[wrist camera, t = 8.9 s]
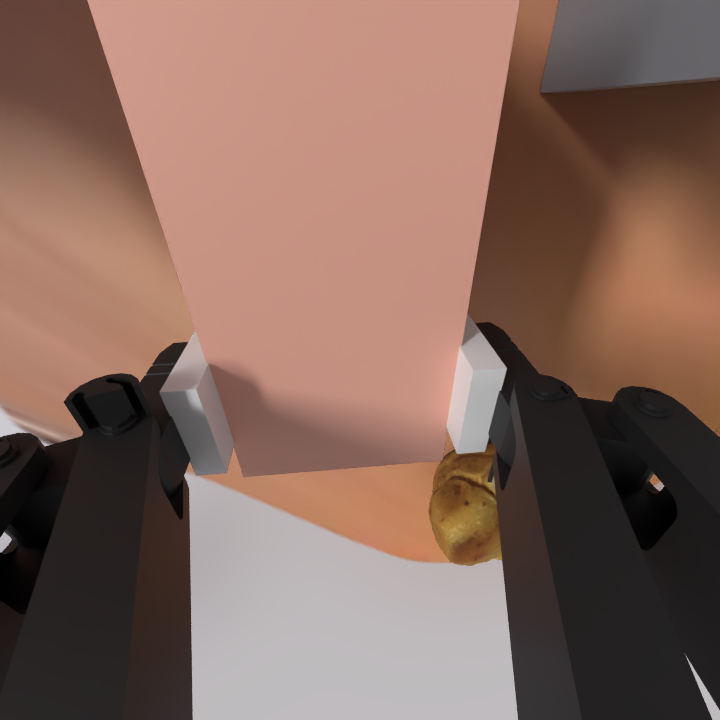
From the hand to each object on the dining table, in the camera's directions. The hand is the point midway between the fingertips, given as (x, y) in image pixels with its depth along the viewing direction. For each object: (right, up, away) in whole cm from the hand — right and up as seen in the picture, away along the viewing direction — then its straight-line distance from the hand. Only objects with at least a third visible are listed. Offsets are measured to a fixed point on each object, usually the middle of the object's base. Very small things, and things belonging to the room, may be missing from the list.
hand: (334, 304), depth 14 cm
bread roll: (+12, -10, +15) cm, 21 cm away
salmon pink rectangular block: (0, +4, 0) cm, 4 cm away
